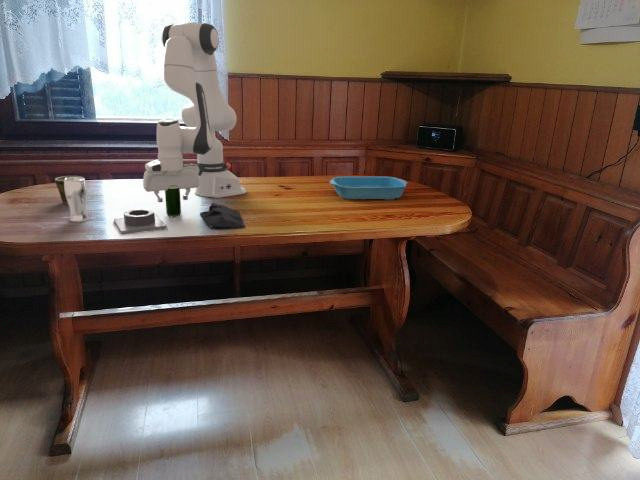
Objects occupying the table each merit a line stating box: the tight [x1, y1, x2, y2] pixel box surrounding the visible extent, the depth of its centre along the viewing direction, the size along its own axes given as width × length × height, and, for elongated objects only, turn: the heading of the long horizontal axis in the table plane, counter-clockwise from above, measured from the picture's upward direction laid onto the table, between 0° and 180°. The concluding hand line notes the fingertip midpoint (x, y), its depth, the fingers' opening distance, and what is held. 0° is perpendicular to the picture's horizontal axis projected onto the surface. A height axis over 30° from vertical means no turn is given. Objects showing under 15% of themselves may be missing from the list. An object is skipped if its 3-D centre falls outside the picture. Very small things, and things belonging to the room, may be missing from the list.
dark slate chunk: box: [199, 202, 246, 229], centre depth 181 cm, size 15×22×5 cm
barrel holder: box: [113, 208, 168, 235], centre depth 171 cm, size 15×15×5 cm
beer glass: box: [64, 176, 90, 223], centre depth 172 cm, size 7×7×15 cm
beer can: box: [164, 185, 182, 218], centre depth 183 cm, size 5×5×12 cm
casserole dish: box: [329, 175, 408, 200], centre depth 227 cm, size 37×22×7 cm, turn 100°
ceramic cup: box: [54, 175, 82, 206], centre depth 194 cm, size 13×10×10 cm
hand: (173, 200), depth 183 cm, fingers open, 8 cm apart
